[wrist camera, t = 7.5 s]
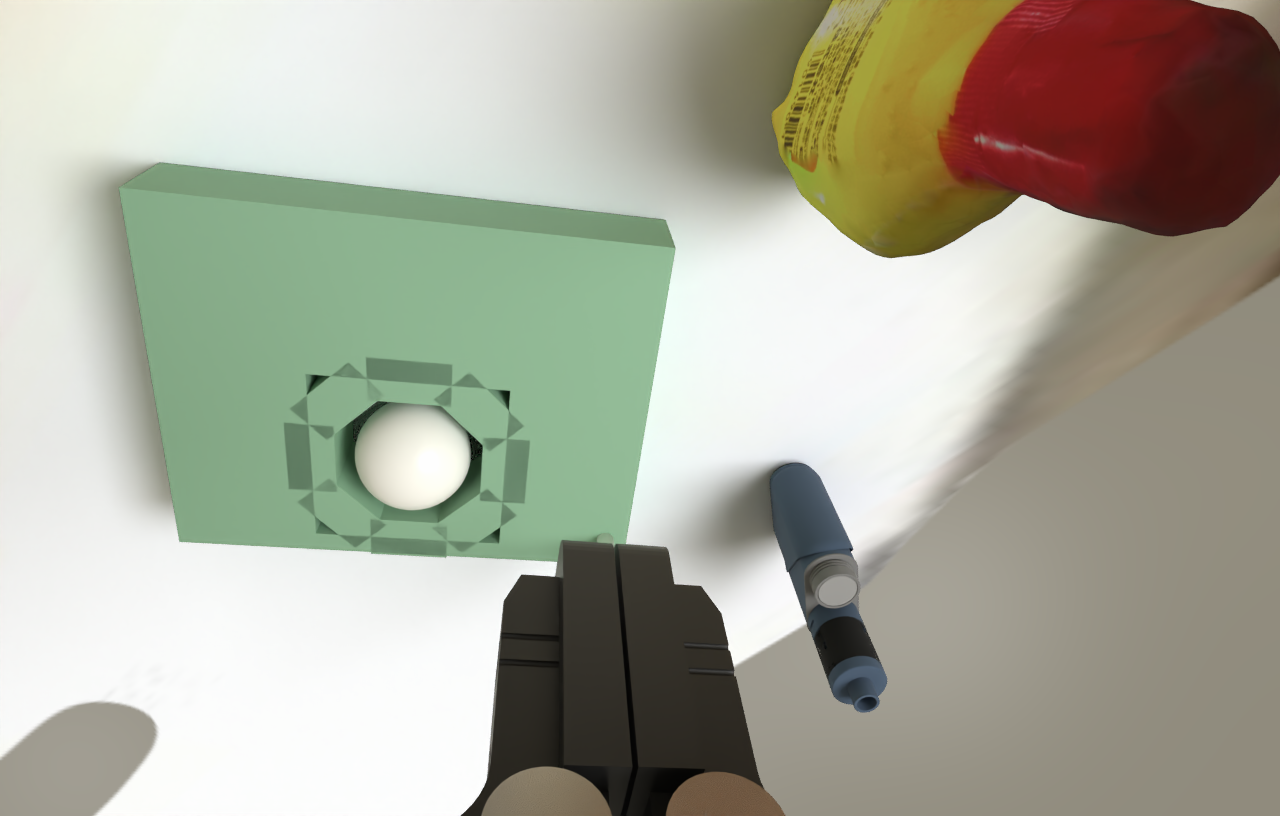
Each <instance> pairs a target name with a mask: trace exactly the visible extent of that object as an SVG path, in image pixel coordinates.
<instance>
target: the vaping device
mask: <svg viewBox="0 0 1280 816" xmlns="http://www.w3.org/2000/svg"><path fill="white" fill-rule="evenodd" d="M770 492H771V504H772V516H773V528H774V532H775V535H776V537H777V540H778V543H779V546H780V549H781V552H782V554H783V557H784V560H785V565H786V570H787V572H789V574H790V577H791V580H792V583H793V586H794V588H795V591H796V594H797V597H798V600H799V603H800V605H801V608H802V611H803V614H804V617H805V620H806V622H807V627H808V629H809V631H810V632H811V633H812V637H813V640H814V642H815V645H816V648H817V651H818V654H819V653H821V654H819V657H820V659H821V662H822V665H823V668H824V671H825V674H826V676H827V679H828V682H829V685H830V688H831V690H832V693H833V695H834V697H835V698H836V699H837V700H839V701H840V702H842V703H846V704H853V705H854V708H855V709H856V710H857V711H859V712H870V711H872V710H874V709H875V708H877V707H878V705H879V698H878V696H879V695H880V694H881V693H882V692H883V691H884V689H885V687H886V684H887V677H886V674H885V672H884V669H883V667H882V665H881V662H880V660H879V658H878V656H877V653H876V651H875V649H874V646H873V644H872V642H871V641H870V640H871V639H870V637H869V636H868V633H867V631H866V628H865V626H864V623H863V621H862V619H861V616H860V614H859V601H858V600H859V598H858V595H859V593H860V583H859V581H858V565H857V563H856V561H855V560H854V558H853V556H852V553H851V551H852V550H853V547H852V545H851V542H850V540H849V538H848V536H847V534H846V532H845V530H844V528H843V525H842V523H841V521H840V519H839V517H838V515H837V513H836V510H835V508H834V506H833V504H832V502H831V500H830V498H829V496H828V493H827V491H826V489H825V487H824V485H823V483H822V481H821V479H820V477H819V475H818V474H817V473H816V472H815V471H814V470H812V468H810V467H809V466H807V465H805V464H801V463H792V464H787V465H785V466H782V467H780V468H779V469H777V470H776V471H775V472H774V473H773V474H772V476H771V478H770ZM866 633H867V634H866ZM876 658H878V659H876Z"/></svg>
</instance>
